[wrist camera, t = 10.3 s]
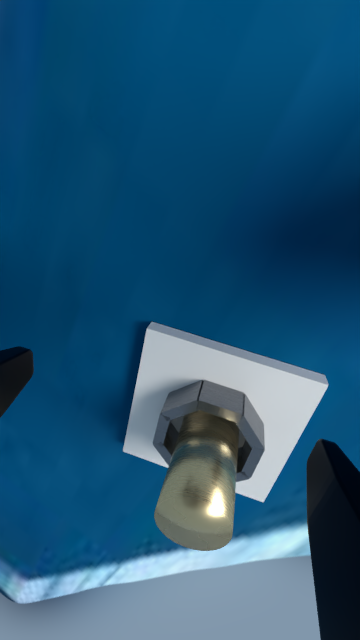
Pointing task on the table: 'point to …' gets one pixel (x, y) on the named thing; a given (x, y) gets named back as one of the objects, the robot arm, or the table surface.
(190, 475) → the brass cylinder
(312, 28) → the table surface
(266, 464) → the socket base
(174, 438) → the socket collar
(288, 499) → the table surface
